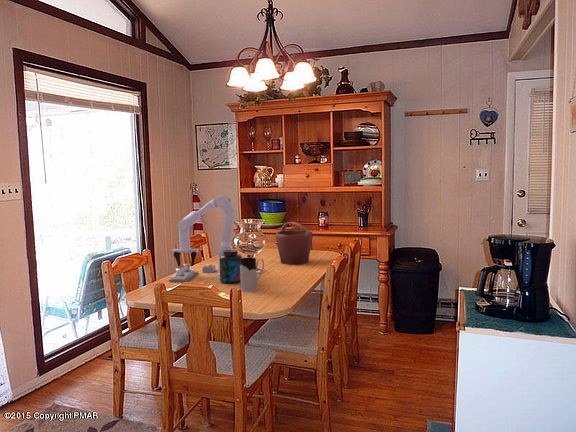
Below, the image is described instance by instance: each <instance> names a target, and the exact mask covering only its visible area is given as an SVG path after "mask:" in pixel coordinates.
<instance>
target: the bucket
mask: <svg viewBox="0 0 576 432" xmlns="http://www.w3.org/2000/svg"><path fill="white" fill-rule="evenodd" d="M290 224H293V225H295V226H297V227H299V228H300V229H301V230H299V229H290V230H286V228H287V226H289V225H290ZM275 241H276V245H277V250H278V254H279V259H280V263H281V264H283V265H288V266H299V265H300V266H301V265H305V264H307V263H309V259H310V253H311V249H312V241H313V232H312V231H310V230H309V229H308V228H306V227H305V226H304V225H303V224H301V223H299V222H296V221H289V222H288V221H287V222H286V223H284V224H283V225H282V226H281V228H280V231H276V233H275Z"/></svg>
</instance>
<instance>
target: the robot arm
mask: <svg viewBox="0 0 576 432" xmlns="http://www.w3.org/2000/svg"><path fill="white" fill-rule="evenodd" d="M212 208H220V209H221V210H222V211H223V212H224V213H225V218H224V224H223V225H224V226H223V231H222V236H221V237H222V239H221V243H220V248H219V250H218V252H217V256H218V258H217V259H218V272H217V273H216V274H215V275H218V276H219V277H220V266H219V257H220V256H221V255H223V251H224V250H232V248H231V241H232V233H233V228H234V221H235V215H236V214H235V213H236V208H235V207H234V205H233V203H232V200H231V198H229V196H227V195H226V194H220V195H218V196H217V197H216V198H213V199H211V200H210V201H208V202H207V203H206V204H204V206H202V207H201V208H200V209H198V210H193V211H192V210H191V211H190V212H189V214H188V215H186V216H184V217H183V218H182V219H180V220H179V221H178V222H177V229H178V239H179V248H172V249H171V254H172V255H173V257H174V259H175V260H176V263H177V266H178V267H180V266H182V265H181V264H182V263H181V253H182V254H185V253H186V254H187V253H190V254H189V255H190V259H191V260H190V261H191V264H190V266H191V267H194V265H195V260H196V257H197V255H198V253H199V248H191V237H190V235H191V234H190V227H192V226H193V225H194V224H196V223H197V222H198V221H200V220H201V217H202V216H203V215H204V214H205V213H207V212H208V211H210V210H211V209H212Z"/></svg>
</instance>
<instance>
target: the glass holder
mask: <svg viewBox="0 0 576 432" xmlns="http://www.w3.org/2000/svg"><path fill="white" fill-rule="evenodd" d="M260 261H261V262H262V268H261V271H260V274H259V275H258V274H257V269H258V266H259V262H260ZM264 267H265V262H264V260H263V259H262V258H259V259H258V260H257V259H256V257H242V259H240V277H241V282H240V289H241V290H242V291H241V292H243V293H249V292H250V293H253V292H256V291H258V290H259V287H258V281H259V279H260V277H261V276H262V275H263V272H264V269H265V268H264Z"/></svg>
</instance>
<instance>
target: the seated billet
mask: <svg viewBox="0 0 576 432" xmlns="http://www.w3.org/2000/svg"><path fill="white" fill-rule="evenodd" d="M175 274H176V276H184V268H183V267H177V268H175Z"/></svg>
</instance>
